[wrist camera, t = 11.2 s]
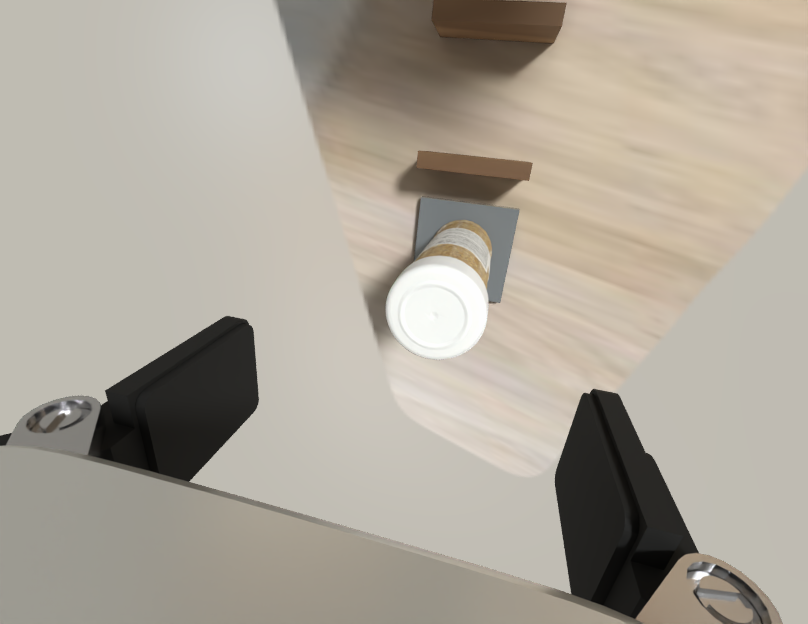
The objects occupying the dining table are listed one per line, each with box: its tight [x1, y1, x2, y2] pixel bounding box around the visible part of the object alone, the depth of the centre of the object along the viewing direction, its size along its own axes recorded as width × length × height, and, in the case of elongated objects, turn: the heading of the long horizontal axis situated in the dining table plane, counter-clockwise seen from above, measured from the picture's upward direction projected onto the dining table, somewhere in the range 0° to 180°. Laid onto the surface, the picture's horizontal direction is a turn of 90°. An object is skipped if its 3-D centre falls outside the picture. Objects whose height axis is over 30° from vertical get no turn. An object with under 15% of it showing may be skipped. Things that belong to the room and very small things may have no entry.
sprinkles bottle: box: [385, 220, 492, 360], centre depth 23 cm, size 5×5×14 cm
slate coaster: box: [414, 196, 519, 303], centre depth 29 cm, size 7×7×1 cm
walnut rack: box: [416, 0, 567, 181], centre depth 24 cm, size 9×7×4 cm
